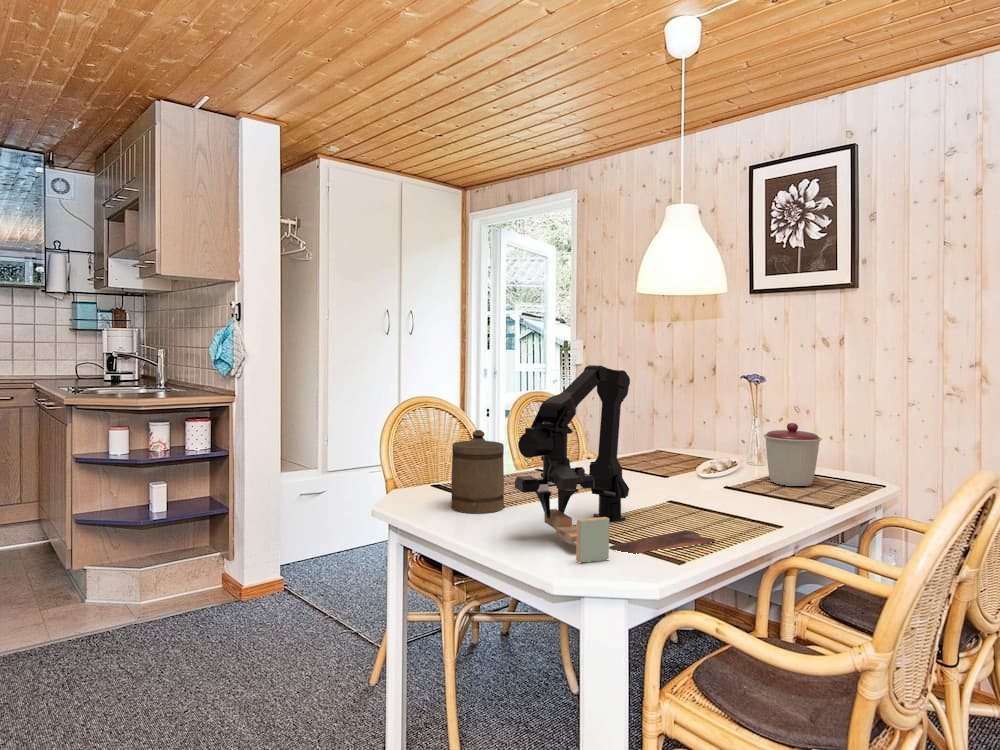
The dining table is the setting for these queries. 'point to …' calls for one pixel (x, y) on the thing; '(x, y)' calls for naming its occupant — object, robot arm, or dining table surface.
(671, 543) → the wooden tablet
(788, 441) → the canister
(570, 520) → the tan paddle
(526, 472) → the dining table surface
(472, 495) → the wooden container
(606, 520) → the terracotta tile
